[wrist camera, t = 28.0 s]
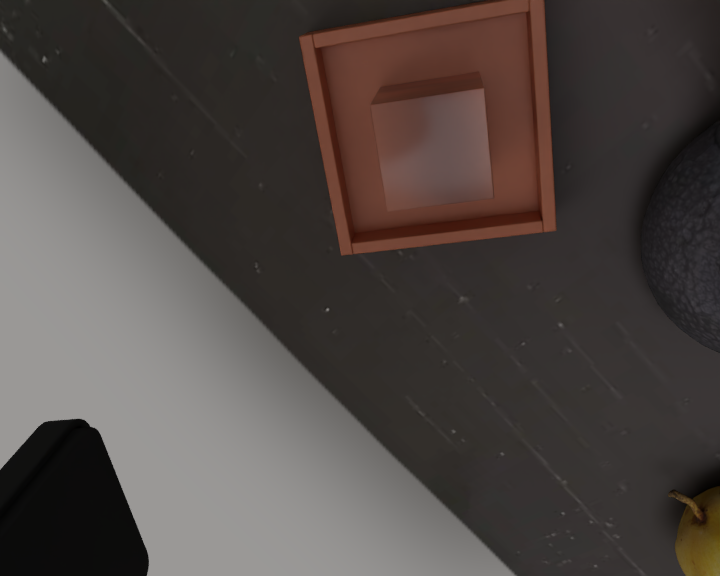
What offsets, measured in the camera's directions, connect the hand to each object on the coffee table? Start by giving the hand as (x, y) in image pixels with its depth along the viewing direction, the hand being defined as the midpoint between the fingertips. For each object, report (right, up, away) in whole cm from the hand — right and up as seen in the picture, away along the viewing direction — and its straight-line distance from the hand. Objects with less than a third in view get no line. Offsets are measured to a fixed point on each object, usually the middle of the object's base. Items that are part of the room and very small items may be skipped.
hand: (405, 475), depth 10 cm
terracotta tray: (+3, +10, +22) cm, 24 cm away
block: (+3, +10, +21) cm, 24 cm away
